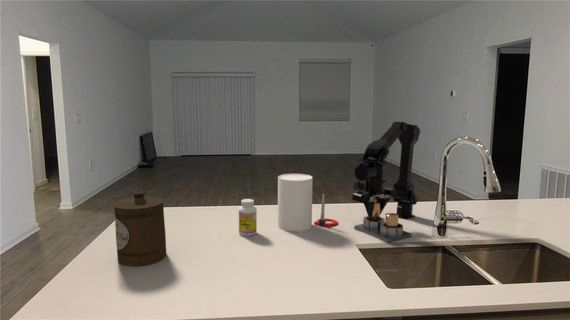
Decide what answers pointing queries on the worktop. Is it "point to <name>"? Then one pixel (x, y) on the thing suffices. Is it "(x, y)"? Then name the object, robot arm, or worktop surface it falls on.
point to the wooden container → (140, 230)
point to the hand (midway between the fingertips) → (374, 216)
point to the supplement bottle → (247, 218)
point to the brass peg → (375, 212)
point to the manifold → (384, 228)
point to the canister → (295, 202)
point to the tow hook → (322, 221)
